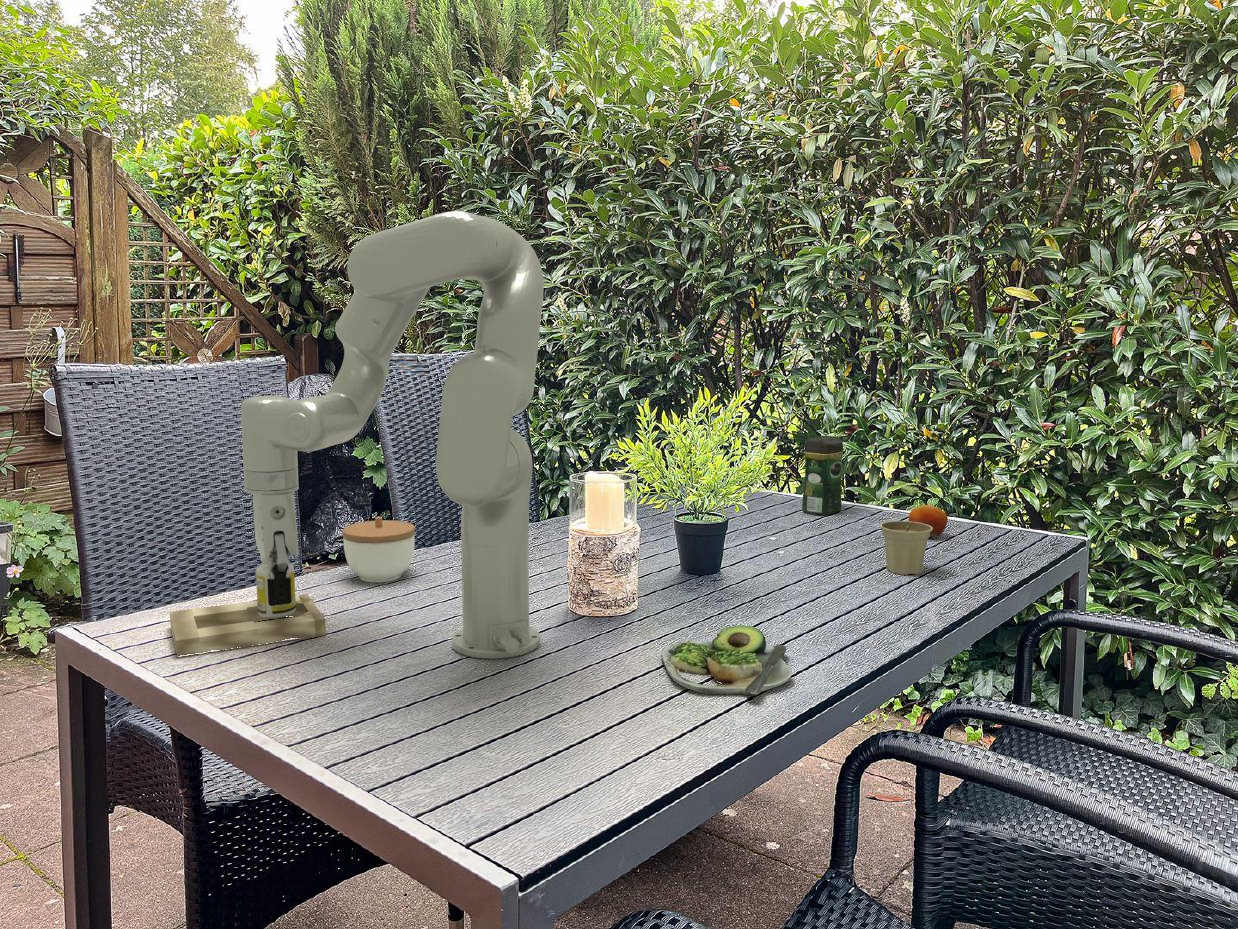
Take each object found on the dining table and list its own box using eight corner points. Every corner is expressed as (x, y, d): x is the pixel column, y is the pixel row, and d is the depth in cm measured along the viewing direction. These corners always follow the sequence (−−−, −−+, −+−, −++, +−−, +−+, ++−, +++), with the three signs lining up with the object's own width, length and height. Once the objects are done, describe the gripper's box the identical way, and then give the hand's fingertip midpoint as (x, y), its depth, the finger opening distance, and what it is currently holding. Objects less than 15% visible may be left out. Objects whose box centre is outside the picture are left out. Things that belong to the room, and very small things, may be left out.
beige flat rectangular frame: (310, 608, 151) (309, 593, 151) (328, 635, 139) (327, 618, 138) (170, 627, 141) (169, 611, 141) (177, 658, 129) (175, 640, 129)
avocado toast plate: (817, 705, 116) (818, 670, 116) (674, 709, 115) (675, 673, 114) (779, 650, 135) (780, 619, 135) (656, 652, 134) (656, 621, 133)
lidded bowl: (430, 574, 171) (429, 515, 170) (380, 591, 161) (378, 528, 159) (380, 564, 178) (378, 507, 176) (328, 580, 167) (326, 519, 165)
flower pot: (878, 576, 173) (880, 530, 171) (876, 562, 182) (879, 519, 180) (931, 579, 170) (934, 533, 169) (927, 566, 179) (930, 522, 178)
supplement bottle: (302, 608, 144) (299, 546, 143) (286, 620, 139) (283, 555, 137) (268, 606, 145) (265, 545, 143) (251, 618, 139) (248, 554, 138)
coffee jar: (818, 506, 234) (821, 432, 231) (846, 511, 228) (849, 435, 225) (795, 512, 227) (798, 436, 224) (823, 517, 221) (827, 439, 218)
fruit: (907, 534, 199) (909, 499, 202) (906, 545, 206) (908, 511, 209) (948, 537, 196) (949, 501, 199) (945, 548, 203) (947, 514, 206)
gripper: (308, 488, 133) (313, 611, 136) (288, 469, 148) (292, 580, 151) (252, 492, 129) (258, 618, 132) (237, 472, 144) (242, 586, 147)
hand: (276, 597), depth 141 cm, fingers closed on supplement bottle, 5 cm apart
